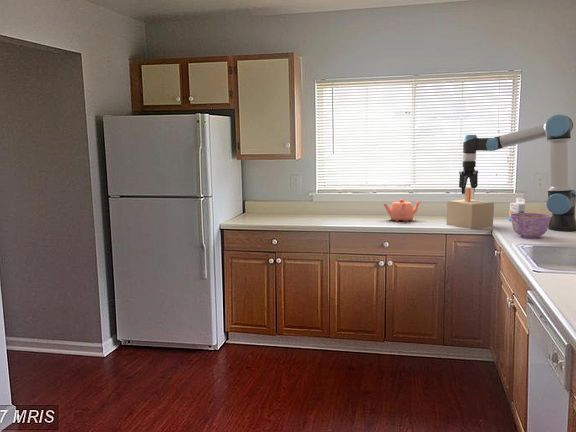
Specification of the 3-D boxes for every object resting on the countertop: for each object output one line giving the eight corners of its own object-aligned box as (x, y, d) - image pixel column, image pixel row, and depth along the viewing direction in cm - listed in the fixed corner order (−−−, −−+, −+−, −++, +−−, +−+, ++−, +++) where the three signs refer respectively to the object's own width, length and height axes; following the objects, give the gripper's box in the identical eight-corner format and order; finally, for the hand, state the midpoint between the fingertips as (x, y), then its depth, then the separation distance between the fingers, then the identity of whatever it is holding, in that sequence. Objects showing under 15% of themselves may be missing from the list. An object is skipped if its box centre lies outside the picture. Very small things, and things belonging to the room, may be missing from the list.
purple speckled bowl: (505, 237, 286) (506, 216, 285) (513, 232, 303) (514, 212, 301) (546, 241, 275) (548, 219, 274) (552, 235, 292) (554, 214, 290)
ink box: (508, 220, 346) (509, 197, 344) (515, 220, 348) (516, 197, 346) (517, 222, 338) (519, 199, 336) (524, 222, 340) (525, 198, 338)
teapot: (421, 220, 351) (422, 199, 349) (404, 223, 339) (404, 201, 337) (399, 217, 365) (399, 197, 363) (381, 220, 353) (381, 199, 351)
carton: (492, 226, 325) (494, 202, 323) (471, 228, 316) (472, 204, 314) (467, 222, 342) (468, 199, 340) (446, 224, 334) (447, 201, 332)
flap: (480, 201, 332) (480, 187, 330) (459, 203, 323) (459, 188, 322) (468, 199, 340) (468, 186, 339) (447, 201, 332) (448, 187, 331)
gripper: (475, 160, 333) (474, 197, 336) (453, 160, 325) (451, 199, 328) (485, 160, 327) (483, 198, 330) (462, 161, 318) (461, 200, 321)
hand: (467, 198), depth 329 cm, fingers open, 6 cm apart
